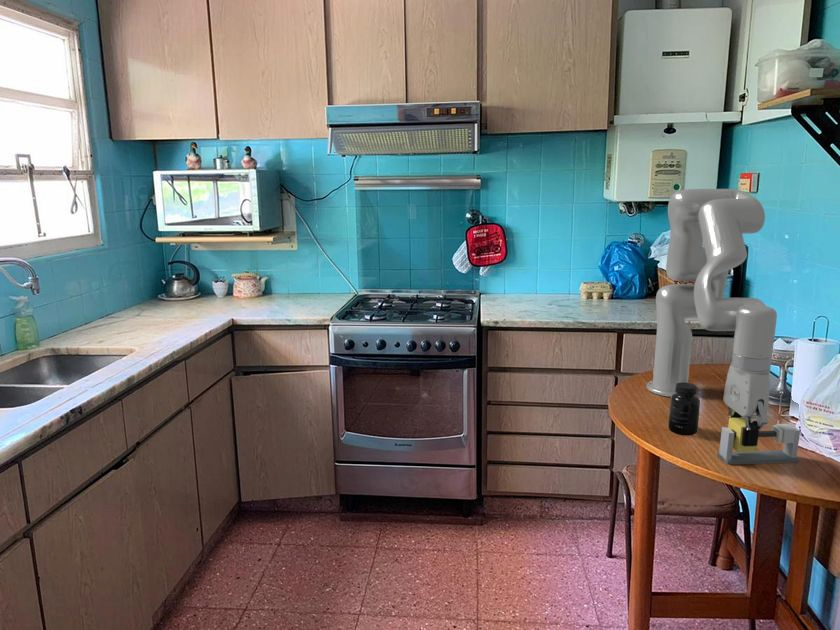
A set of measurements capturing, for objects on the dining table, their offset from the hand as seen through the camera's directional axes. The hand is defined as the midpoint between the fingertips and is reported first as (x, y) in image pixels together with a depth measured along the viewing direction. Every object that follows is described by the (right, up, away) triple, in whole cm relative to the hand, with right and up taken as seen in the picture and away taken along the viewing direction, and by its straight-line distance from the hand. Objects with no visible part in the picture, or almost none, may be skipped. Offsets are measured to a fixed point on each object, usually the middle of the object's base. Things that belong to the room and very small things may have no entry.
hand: (742, 439), depth 137 cm
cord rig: (+4, -5, +1) cm, 6 cm away
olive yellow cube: (0, -2, 0) cm, 2 cm away
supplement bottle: (-6, -1, +17) cm, 18 cm away
